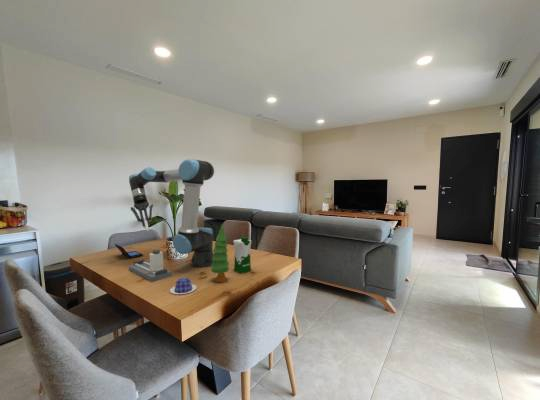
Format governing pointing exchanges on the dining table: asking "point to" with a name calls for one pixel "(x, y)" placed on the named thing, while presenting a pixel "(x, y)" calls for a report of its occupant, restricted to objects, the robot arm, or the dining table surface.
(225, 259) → the decorative tree
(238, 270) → the milk carton
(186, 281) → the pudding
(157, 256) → the fader tab
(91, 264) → the dining table surface
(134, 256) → the game console
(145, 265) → the fader track
